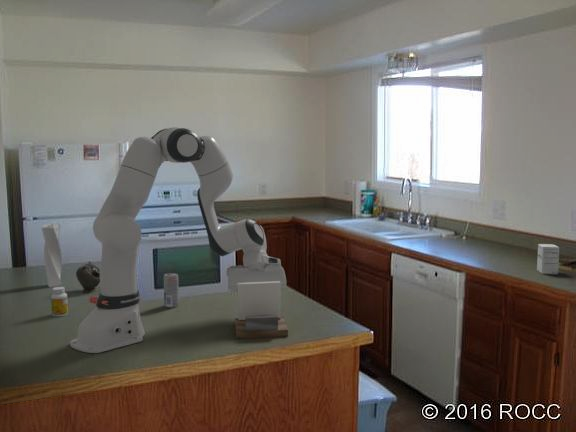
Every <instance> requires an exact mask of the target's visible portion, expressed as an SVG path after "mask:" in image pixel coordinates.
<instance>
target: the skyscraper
mask: <svg viewBox="0 0 576 432" xmlns="http://www.w3.org/2000/svg"><path fill="white" fill-rule="evenodd" d="M55 224H58V226H57V225H55ZM60 231H61V224H60V223H59V222H58V221H52V222H51V223H50V224H44V225H42V226H41V232H42V235H43V239H44V246H43V247H44V248H43V251H44V252H43V256H44V257H43V258H44V268H45V273H46V278H47V283H46V285H47V286H48V287H49V288H55V287H63V283H62V280H61V278H62V277H61V276H62V265H63V263H62V261H63V259H62V258H63V256H62V250H61V245H60V242H59V239H60V238H59V237H60V233H61V232H60Z"/></svg>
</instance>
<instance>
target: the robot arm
mask: <svg viewBox="0 0 576 432" xmlns="http://www.w3.org/2000/svg"><path fill="white" fill-rule="evenodd" d="M164 162H170V163H174V164H175V163H176V164H179V163H190V164H191V165H192V166H193V168H194V170H195V172H196V174H197V176H198V179H199V188H198V189H197V192H196V196H197V201H198V206H199V210H200V212H201V213H200V214H201V217H202V219H203V224H204V227H205V230H206V233H207V234H206V235H207V239H208V244H209V248H210V250H211V251H212V253H214V254H215V255H218V256H221V257H225V256H228V255H230V254H232V253H234V252H238V251H239V250H242V252H243V256H242V262H243V265H241V264H240V265H239V264H238V265H231V266H229V267H227V268H226V273H225V274H226V276H227V277H228V278H227V289H228V290H229V291H230V292H233V291H234V292H238V283H245V282H271V281H280V283H281V290H283V289H285V288H286V287H287V277H286V273H285V269H284V267H283V266H282V263H281V261H282V260H281V259H280V258H277V257H273V256H269V255H268V253H267V248H268V246H267V238H266V233H265V231H264V228H263V227H262V225H261V224H259V223H258V222H256V221H255V220H253V219H251V218H245V219H241V220H238V221H235V222H233V223H231V224H227V225H225V226H224V225H223V226H222V225H220V223H219V220H218V217H217V213H216V210H215V206H214V205H215V201H217V199H219V197H221V196H222V195H224V193H225V192H226V191H228V189H229V188H230V186H231V185H232V182H233V178H234V177H233V176H234V175H233V171H232V168H231V165H230V163H229V160H228V159H227V157H226V154H225V153H224V151H223V149H222V148H221V146H220V145H219V143H218V142H217V141H216V140H215V138H213V137H212V136H211V135H202V136H201V135H200V136H199V135H198V134H197V133H195V132H194V131H192V130H191V129H189V128H185V127H184V128H183V127H181V128H180V127H169V128H163V129H160V130H158V132H156V133H155V134H154V135H153V136H152V137H148V136H139V137H137V138H135V139H134V140H133V141H132V142H131V144H130V146H129V147H128V149H127V151H126V153H125V155H124V157H123V159H122V161H121V165H120V167H119V170H118V172H117V175H116V177H115V180H114V183H113V185H112V188H111V190H110V192H109V194H108V196H107V198H106V199H105V201H104V202H103V204H102V206H101V208H100V210H99V213H98V215H97V216H96V217H95V219H94V220H93V224H92V230H93V234H94V236H95V238H96V240H97V241H98V242H100V243H101V246H102V247H101V260H100V265H99V270H100V283H99V288H100V293H99V295H98V297H96V296H93V295H91V296H89V299H88V302H89V303H90V304H94V305H95V306H96V307H94V308H93V310H92V311H91V312H90V313H89V314H88V315H87V316H86V317H85V318H84V319H83V320H82V321H81V322H80V323H79V326H78V328H77V329H78V331H77V337H76V338H74V339H72V340H70V341H69V346H70V347H71V348H73V349H74V350H77V351H79V352H83V353H89V354H99V353H103V352H107V351H110V350H115V349H118V348H121V347H125V346H129V345H133V344H136V343H140V342H143V341H144V338H143V337H144V336H145V334H146V331H145V330H144V326H143V323H142V318H141V312H140V305H139V304H140V301H141V300H140V291H139V289H138V271H137V270H138V257H139V252H140V251H139V249H140V242H141V240H142V237H143V235H142V234H143V233H142V229H141V227H140V225H139V223H138V222H137V220H136V218H137V216H138V215H139V213H140V211H141V209H142V208H143V207H144V206H145V204H146V203H147V201H148V199H149V197H150V194H151V191H152V189H153V187H154V183H155V181H156V177H157V174H158V172H159V169H160V167H161V165H162V164H163V163H164Z"/></svg>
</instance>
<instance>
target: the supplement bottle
mask: <svg viewBox="0 0 576 432" xmlns="http://www.w3.org/2000/svg"><path fill="white" fill-rule="evenodd" d="M65 291H66V288H65V286H56V287H52V294H51V296H50V301H51V303H50V306H51V315H52V317H65V316H67V315H68V314H69V305H68V304H69V303H68V293H66V292H65Z"/></svg>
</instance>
